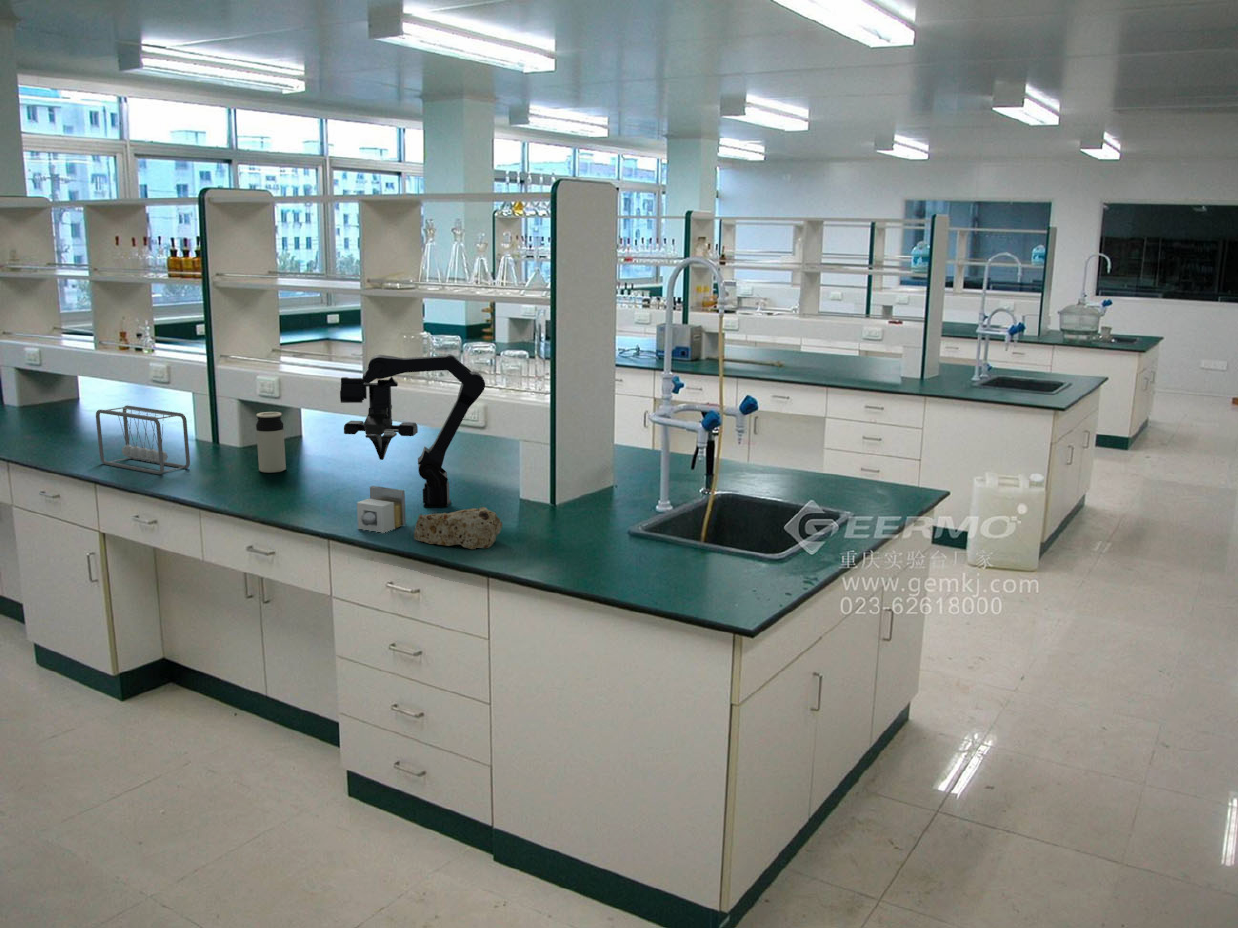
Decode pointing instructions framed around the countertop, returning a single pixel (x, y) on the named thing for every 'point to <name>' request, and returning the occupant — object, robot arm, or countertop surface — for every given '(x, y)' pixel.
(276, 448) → the travel mug
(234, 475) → the countertop surface
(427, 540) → the rock
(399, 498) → the grey piece
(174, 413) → the newton's cradle
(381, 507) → the block
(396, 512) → the spacer
